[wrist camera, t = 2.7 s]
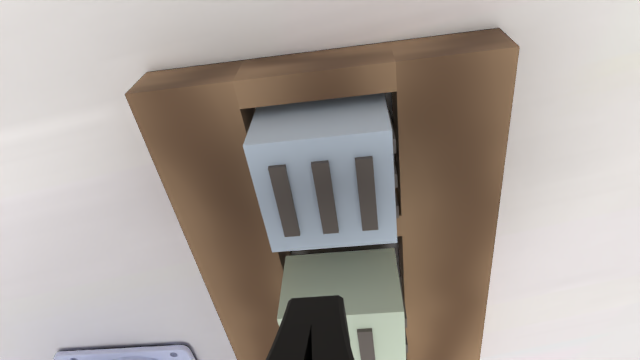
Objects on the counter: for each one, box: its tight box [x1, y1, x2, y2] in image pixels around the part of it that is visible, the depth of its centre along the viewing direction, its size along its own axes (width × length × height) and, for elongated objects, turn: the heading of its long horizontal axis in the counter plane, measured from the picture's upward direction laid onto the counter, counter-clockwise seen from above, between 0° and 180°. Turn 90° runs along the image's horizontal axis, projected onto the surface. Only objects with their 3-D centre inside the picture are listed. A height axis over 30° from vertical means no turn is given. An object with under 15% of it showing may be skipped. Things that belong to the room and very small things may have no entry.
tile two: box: [277, 248, 408, 360], centre depth 19 cm, size 5×5×4 cm
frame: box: [125, 28, 519, 360], centre depth 22 cm, size 14×22×2 cm, turn 8°
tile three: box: [243, 93, 399, 252], centre depth 17 cm, size 5×5×4 cm
